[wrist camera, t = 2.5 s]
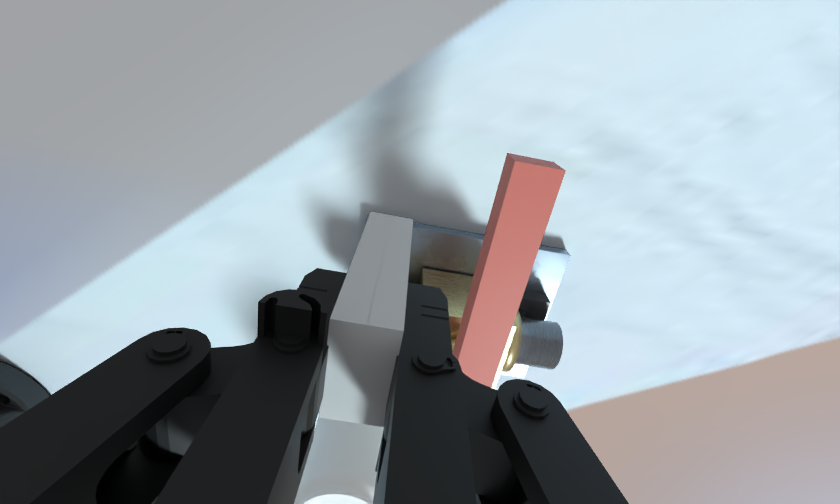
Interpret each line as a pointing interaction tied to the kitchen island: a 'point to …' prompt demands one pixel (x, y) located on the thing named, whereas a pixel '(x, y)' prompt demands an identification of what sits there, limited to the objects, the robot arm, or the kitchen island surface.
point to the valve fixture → (453, 272)
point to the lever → (505, 262)
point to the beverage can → (341, 464)
